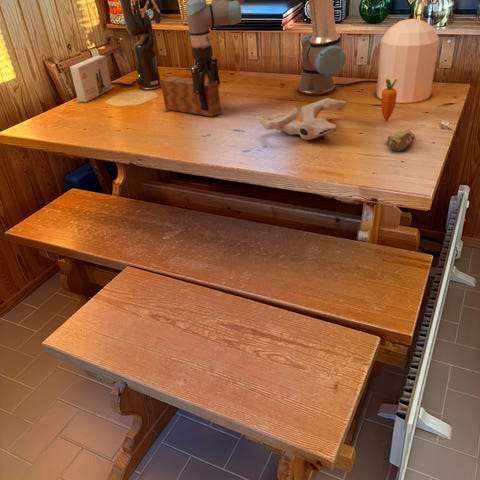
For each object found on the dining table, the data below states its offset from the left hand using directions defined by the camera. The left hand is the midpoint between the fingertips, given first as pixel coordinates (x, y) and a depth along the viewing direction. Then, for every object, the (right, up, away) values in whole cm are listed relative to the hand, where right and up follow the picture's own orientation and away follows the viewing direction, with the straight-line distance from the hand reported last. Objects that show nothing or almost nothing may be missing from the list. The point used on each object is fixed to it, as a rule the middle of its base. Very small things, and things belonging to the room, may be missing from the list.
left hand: (150, 25), depth 192 cm
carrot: (+90, -46, -26) cm, 104 cm away
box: (+17, -36, -1) cm, 40 cm away
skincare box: (-32, -19, +31) cm, 49 cm away
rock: (+89, -59, -44) cm, 115 cm away
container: (+103, -30, -4) cm, 108 cm away
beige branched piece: (+61, -54, -32) cm, 87 cm away
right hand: (+25, -36, -7) cm, 44 cm away
